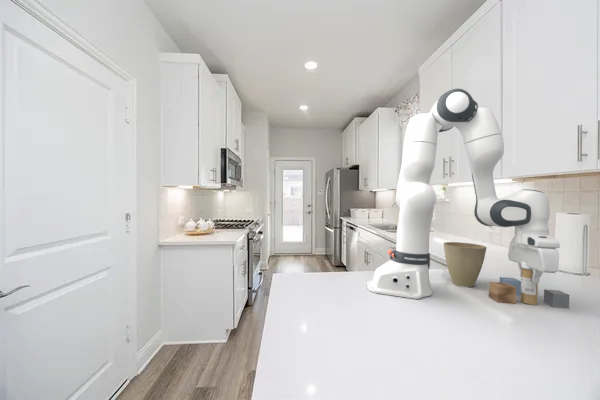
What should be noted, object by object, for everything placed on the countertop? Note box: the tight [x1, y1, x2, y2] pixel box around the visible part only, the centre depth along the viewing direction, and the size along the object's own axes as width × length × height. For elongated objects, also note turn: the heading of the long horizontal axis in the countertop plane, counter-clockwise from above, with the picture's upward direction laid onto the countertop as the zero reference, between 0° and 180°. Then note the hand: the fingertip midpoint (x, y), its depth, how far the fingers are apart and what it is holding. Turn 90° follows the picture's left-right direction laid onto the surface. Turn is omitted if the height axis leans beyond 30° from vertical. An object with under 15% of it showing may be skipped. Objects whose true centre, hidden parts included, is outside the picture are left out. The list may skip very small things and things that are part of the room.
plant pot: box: [443, 241, 487, 288], centre depth 113 cm, size 15×15×16 cm
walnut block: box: [488, 281, 517, 305], centre depth 96 cm, size 6×6×6 cm
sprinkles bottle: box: [519, 262, 539, 306], centre depth 94 cm, size 5×5×13 cm
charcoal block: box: [543, 288, 571, 309], centre depth 93 cm, size 4×4×4 cm
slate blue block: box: [498, 276, 521, 296], centre depth 105 cm, size 5×5×5 cm
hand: (529, 280), depth 94 cm, fingers closed on sprinkles bottle, 4 cm apart
